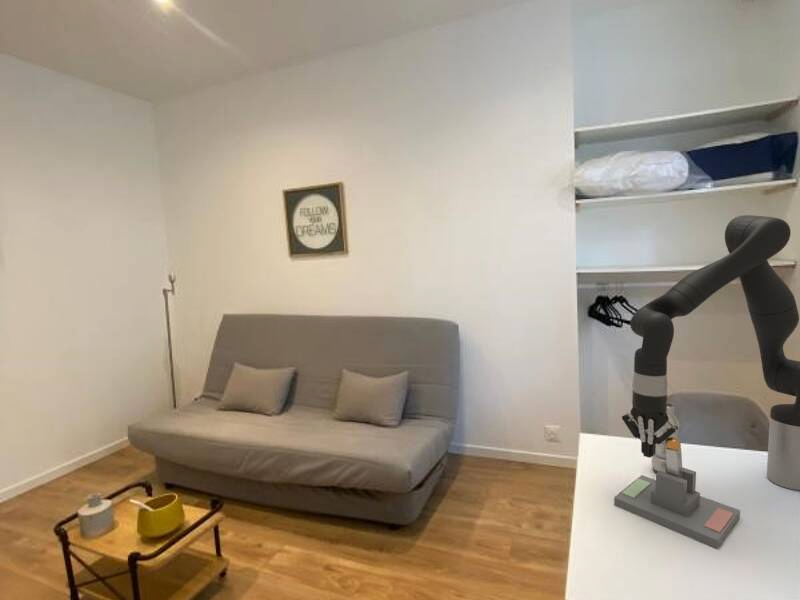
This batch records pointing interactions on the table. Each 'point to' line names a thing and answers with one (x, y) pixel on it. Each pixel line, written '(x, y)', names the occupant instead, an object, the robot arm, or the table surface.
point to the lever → (674, 457)
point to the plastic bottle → (660, 454)
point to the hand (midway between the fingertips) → (648, 455)
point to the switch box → (679, 507)
